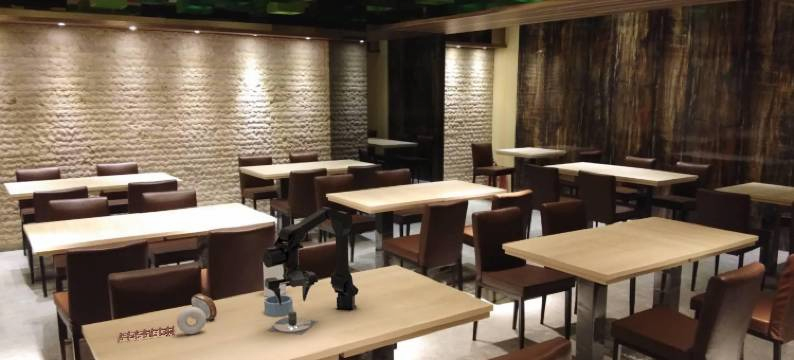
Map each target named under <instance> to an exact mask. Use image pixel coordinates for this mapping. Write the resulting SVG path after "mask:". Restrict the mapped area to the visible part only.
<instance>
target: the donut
mask: <svg viewBox="0 0 794 360" xmlns="http://www.w3.org/2000/svg"><path fill="white" fill-rule="evenodd" d="M191 317H194V318H195V319H196V321H195V323H193V324H189V323H188V319H189V318H191ZM206 322H207V320H206V316H205V313H204V312H203V311H202V310H201V309H200V308H197V307H192V306H190V307H186V308H184V309H182V310H181V312H180V313H179V314H178V316H177V318H176V325H177V327H178V329H179V331H181V332H182V333H184V334H186V335H194V334H197V333H199V332H201V331H202V329H204V328H205V326H206V324H207V323H206Z"/></svg>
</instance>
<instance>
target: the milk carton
mask: <svg viewBox="0 0 794 360" xmlns="http://www.w3.org/2000/svg"><path fill="white" fill-rule="evenodd" d="M262 262H263V261H262ZM262 265H263V267H262V269H263V270H262V271H263V291H264V293H263V295H264V297H270V296H274V295H275V293H274V292H273V291H272V290H269V289H268V288H267V287H266V286H265V280H266V278H273V277H276V278H277V279H278V280H279V279H284V278H283V266H282V265H278V266H274V267H270V268H267V267H266V266H265V265H264V262H263V263H262ZM279 288H280V289H281V290H280V295H285V294H286V293H287V284H281V285H280V287H279Z"/></svg>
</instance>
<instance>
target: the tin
mask: <svg viewBox="0 0 794 360" xmlns="http://www.w3.org/2000/svg"><path fill="white" fill-rule="evenodd" d="M190 300H191V303H190V304H191V307H197V308H200V309H201V310H202V311H203V312H204V313H205V316H206V321H209V320H210V321H211V320H213V319H215V318H216V317H217V315H218V313H217V312H218V311H217V306H216V303H215V301H214V300H213V299H212V298H211V297H209V296H207V295H204V294H202V293H197V294H194V295H193V296H191V299H190Z"/></svg>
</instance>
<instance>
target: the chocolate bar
mask: <svg viewBox="0 0 794 360" xmlns="http://www.w3.org/2000/svg"><path fill="white" fill-rule="evenodd" d="M174 328H175V325H173V324H172V326H170V327H169V325H167V326H166V327H164V328H162V326H159V327H158V328H155V329H154V327H151V328H150V329H146V328H143V330H138V329H135V331H131V330H127V332H119V335H118V338H119V339H118V342H119V341H120V340H123V338H127V340H129V338H134V337H135V339H137V338H139V337H141V336H138V337H137V335H143V338H145V337H147V334H149V337H153V336H157V334H154V335H153V331H158V330H159V336H161V335H165V334H167V336H166V337H169V336H168V335H169V333H170V334H172V335H174V336H175V330H174ZM169 329H172V330H170V331H169ZM161 330H165V331H163V333H161ZM150 331H151V332H150ZM139 332H143V333H141V334H138V333H139ZM146 332H149V333H146ZM130 333H135V334H133V335H130ZM155 333H157V332H155ZM124 334H127V337H122V336H126V335H124ZM134 335H135V336H134ZM145 335H146V336H145ZM129 336H131V337H129ZM121 338H122V339H121Z"/></svg>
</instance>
